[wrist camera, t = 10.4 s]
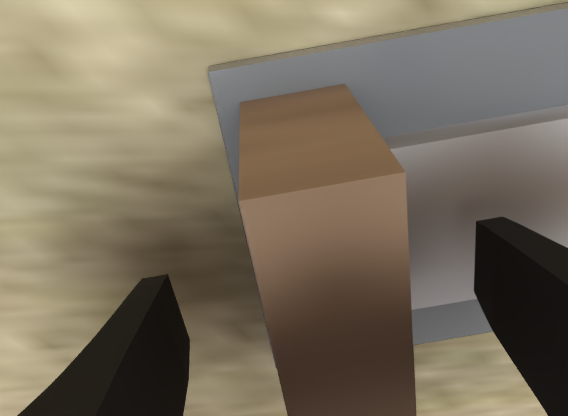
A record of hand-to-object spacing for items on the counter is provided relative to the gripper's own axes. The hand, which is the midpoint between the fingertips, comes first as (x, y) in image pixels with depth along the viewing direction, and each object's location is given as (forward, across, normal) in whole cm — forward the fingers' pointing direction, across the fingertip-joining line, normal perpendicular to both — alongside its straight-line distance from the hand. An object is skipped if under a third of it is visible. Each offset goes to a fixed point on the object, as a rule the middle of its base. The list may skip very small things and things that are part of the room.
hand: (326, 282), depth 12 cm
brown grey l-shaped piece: (+2, -4, 0) cm, 5 cm away
